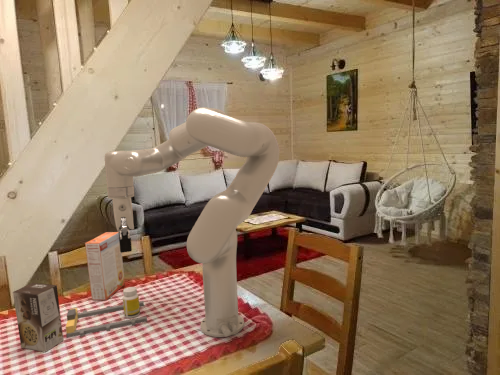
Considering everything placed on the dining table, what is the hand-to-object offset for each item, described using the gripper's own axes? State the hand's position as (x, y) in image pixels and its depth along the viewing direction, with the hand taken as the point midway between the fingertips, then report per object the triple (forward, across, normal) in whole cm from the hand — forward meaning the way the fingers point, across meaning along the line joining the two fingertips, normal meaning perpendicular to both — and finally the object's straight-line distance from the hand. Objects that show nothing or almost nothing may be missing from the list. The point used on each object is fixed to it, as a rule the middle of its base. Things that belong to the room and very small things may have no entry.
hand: (125, 247), depth 113 cm
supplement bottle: (+22, 0, 0) cm, 22 cm away
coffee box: (+22, -7, +24) cm, 33 cm away
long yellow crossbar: (+22, 0, +17) cm, 28 cm away
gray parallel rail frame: (+22, 0, +7) cm, 23 cm away
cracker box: (+22, +22, +7) cm, 32 cm away
